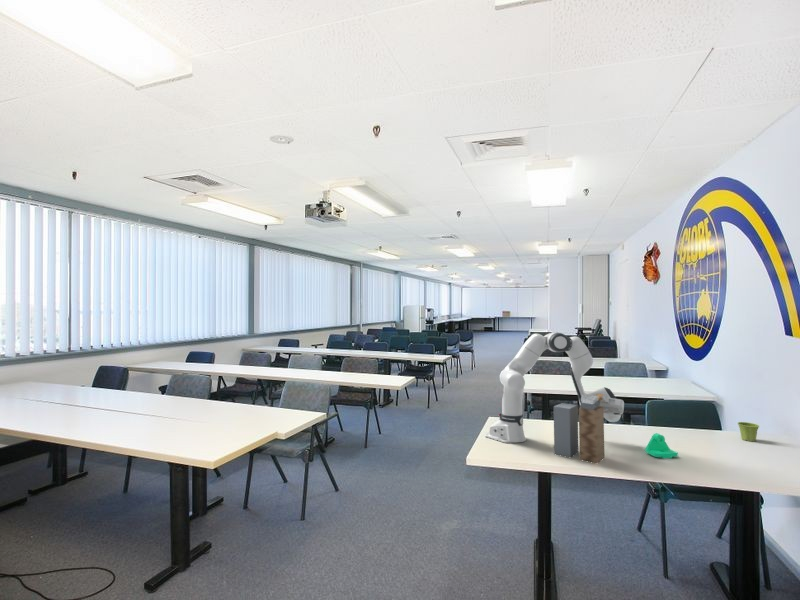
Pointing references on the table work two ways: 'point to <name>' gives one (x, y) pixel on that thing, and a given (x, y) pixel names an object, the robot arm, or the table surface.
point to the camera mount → (659, 447)
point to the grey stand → (566, 429)
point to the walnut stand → (591, 434)
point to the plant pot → (748, 431)
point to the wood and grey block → (591, 401)
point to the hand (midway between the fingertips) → (598, 396)
